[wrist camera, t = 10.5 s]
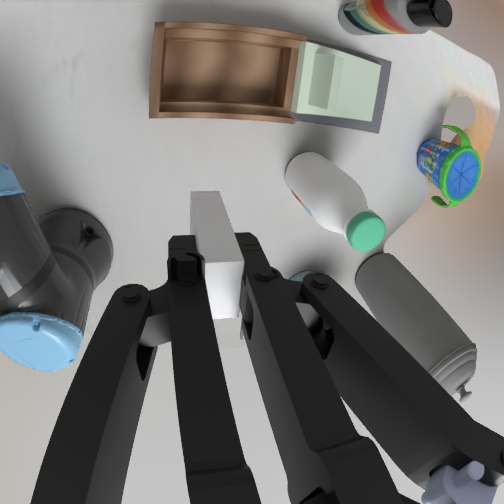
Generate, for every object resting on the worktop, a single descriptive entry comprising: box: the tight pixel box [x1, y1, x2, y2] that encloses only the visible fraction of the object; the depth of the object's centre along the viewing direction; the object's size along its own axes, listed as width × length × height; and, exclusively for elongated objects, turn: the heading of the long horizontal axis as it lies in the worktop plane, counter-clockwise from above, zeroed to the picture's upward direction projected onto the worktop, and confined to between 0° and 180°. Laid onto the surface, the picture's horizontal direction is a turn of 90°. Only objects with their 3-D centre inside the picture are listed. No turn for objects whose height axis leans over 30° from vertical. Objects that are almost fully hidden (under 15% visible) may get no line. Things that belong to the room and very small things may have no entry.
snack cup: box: [417, 125, 481, 208], centre depth 48 cm, size 16×10×10 cm
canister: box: [355, 253, 477, 402], centre depth 51 cm, size 13×13×35 cm
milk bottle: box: [285, 152, 385, 252], centre depth 41 cm, size 8×8×20 cm
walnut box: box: [149, 22, 307, 124], centre depth 35 cm, size 18×12×7 cm, turn 84°
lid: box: [291, 41, 381, 121], centre depth 38 cm, size 16×10×5 cm, turn 84°
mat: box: [291, 39, 391, 134], centre depth 42 cm, size 17×13×1 cm
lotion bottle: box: [339, 0, 452, 35], centre depth 28 cm, size 6×6×20 cm
